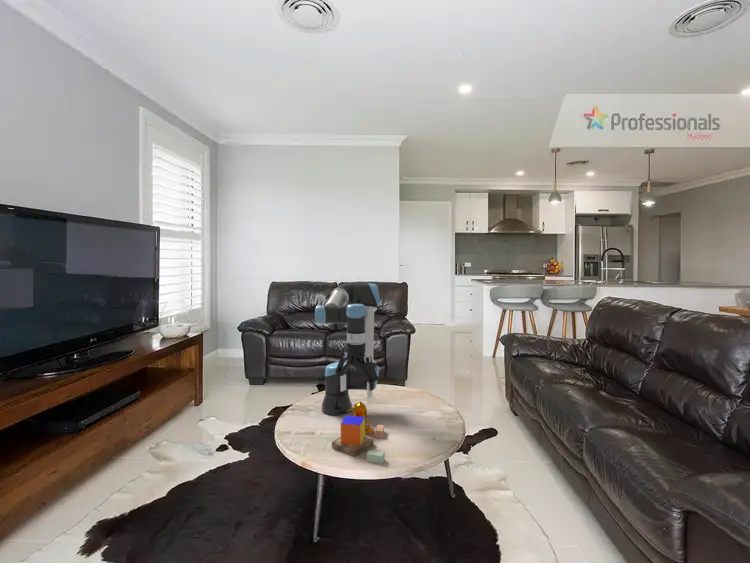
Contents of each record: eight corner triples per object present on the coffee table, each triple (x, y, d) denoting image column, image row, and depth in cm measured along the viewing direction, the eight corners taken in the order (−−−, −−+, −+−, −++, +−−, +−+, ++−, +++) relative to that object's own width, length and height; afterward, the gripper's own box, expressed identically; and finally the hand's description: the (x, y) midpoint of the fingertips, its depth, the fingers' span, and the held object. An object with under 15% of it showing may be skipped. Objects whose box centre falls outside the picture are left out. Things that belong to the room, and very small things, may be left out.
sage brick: (366, 461, 145) (366, 453, 145) (369, 457, 148) (369, 449, 148) (382, 464, 143) (382, 456, 143) (384, 460, 146) (384, 452, 146)
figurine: (354, 424, 178) (354, 398, 177) (376, 428, 174) (376, 401, 173) (346, 431, 170) (346, 405, 169) (368, 436, 166) (368, 408, 165)
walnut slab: (331, 447, 155) (331, 441, 155) (350, 436, 165) (350, 430, 165) (355, 456, 149) (355, 449, 148) (373, 444, 158) (373, 437, 158)
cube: (364, 436, 160) (364, 417, 159) (360, 445, 152) (360, 425, 152) (346, 434, 162) (346, 415, 161) (340, 443, 154) (340, 423, 153)
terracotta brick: (382, 438, 164) (382, 431, 164) (375, 437, 165) (375, 430, 165) (383, 431, 170) (383, 425, 170) (377, 431, 171) (377, 424, 171)
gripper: (326, 340, 160) (327, 390, 162) (376, 349, 146) (376, 403, 148) (338, 337, 167) (338, 385, 168) (387, 345, 152) (387, 397, 154)
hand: (356, 394), depth 158 cm, fingers open, 13 cm apart
